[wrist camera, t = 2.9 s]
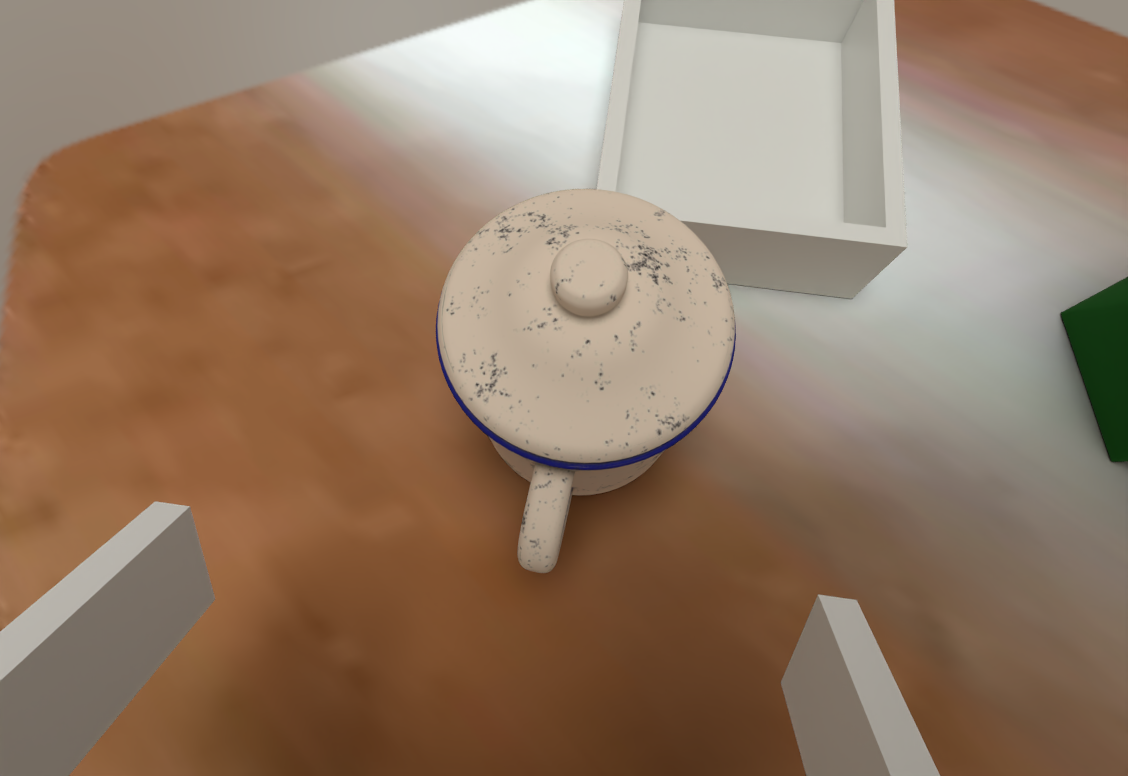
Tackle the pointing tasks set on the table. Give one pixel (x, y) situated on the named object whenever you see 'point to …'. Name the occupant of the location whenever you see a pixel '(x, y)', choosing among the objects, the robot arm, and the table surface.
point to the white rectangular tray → (765, 134)
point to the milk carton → (1104, 360)
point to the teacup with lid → (583, 345)
